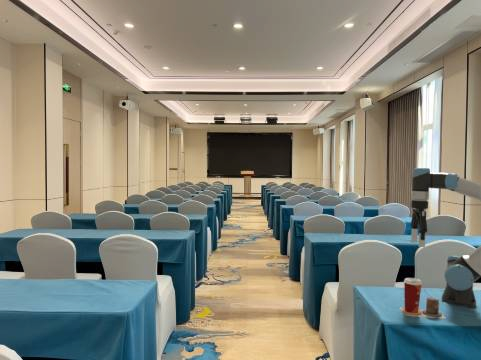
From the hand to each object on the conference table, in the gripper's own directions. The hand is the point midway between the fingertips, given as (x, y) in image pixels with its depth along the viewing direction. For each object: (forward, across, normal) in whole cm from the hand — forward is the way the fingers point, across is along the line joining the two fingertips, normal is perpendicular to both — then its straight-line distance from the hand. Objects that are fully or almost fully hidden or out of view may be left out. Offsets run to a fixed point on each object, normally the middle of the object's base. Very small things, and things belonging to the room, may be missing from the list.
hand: (417, 244), depth 213 cm
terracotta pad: (+28, +18, -6) cm, 33 cm away
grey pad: (+28, +18, +3) cm, 33 cm away
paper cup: (+27, +18, -6) cm, 33 cm away
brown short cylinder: (+27, +18, +3) cm, 33 cm away
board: (+29, +18, -2) cm, 34 cm away
